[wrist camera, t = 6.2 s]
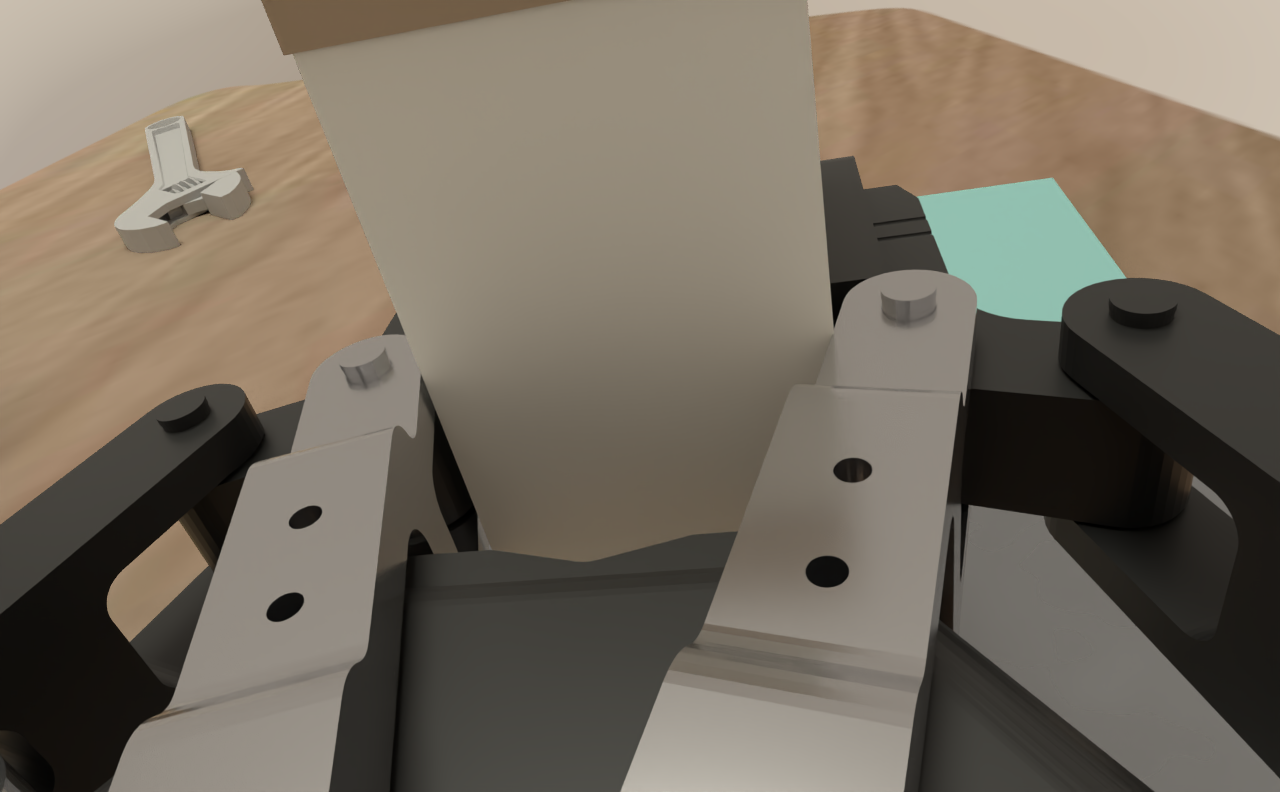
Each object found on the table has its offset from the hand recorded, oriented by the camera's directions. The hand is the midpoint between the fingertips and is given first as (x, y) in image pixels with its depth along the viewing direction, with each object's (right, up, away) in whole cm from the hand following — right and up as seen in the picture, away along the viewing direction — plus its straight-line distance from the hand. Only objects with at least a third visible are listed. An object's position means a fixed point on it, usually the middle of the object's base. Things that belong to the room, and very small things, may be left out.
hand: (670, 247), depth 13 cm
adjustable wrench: (-27, +10, +40) cm, 49 cm away
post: (+1, -8, +2) cm, 9 cm away
